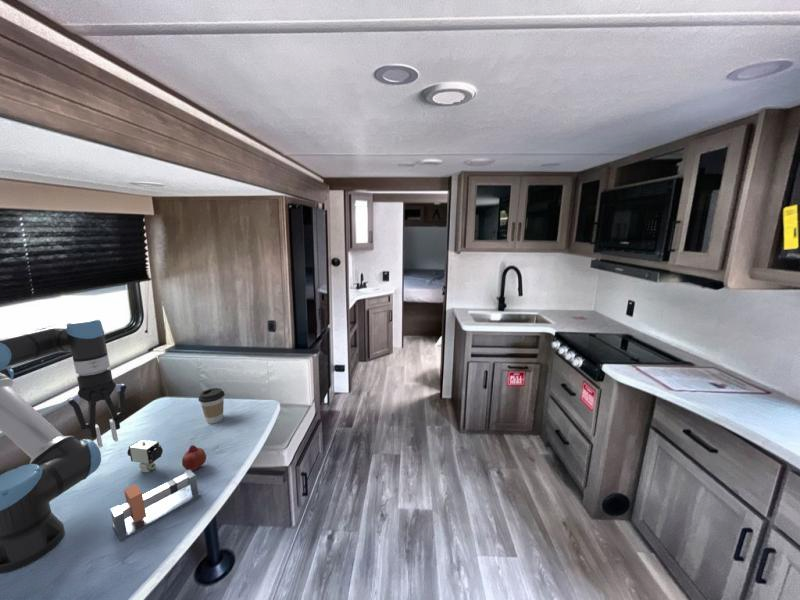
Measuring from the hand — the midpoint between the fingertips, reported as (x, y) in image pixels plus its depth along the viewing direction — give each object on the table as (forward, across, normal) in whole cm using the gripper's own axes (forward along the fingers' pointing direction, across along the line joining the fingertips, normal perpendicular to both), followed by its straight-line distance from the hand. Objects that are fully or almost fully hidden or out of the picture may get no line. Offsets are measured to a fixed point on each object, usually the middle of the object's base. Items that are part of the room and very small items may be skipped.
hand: (107, 442), depth 103 cm
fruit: (+27, +24, +6) cm, 36 cm away
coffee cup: (+27, +45, +38) cm, 65 cm away
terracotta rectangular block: (+24, +2, -7) cm, 25 cm away
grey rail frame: (+27, +8, -7) cm, 29 cm away
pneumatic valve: (+27, +13, +21) cm, 36 cm away
